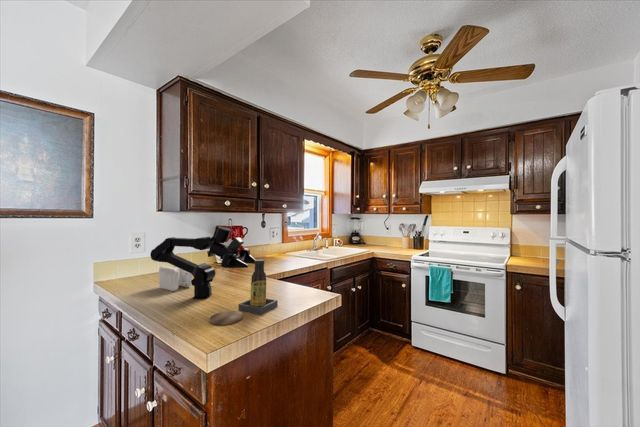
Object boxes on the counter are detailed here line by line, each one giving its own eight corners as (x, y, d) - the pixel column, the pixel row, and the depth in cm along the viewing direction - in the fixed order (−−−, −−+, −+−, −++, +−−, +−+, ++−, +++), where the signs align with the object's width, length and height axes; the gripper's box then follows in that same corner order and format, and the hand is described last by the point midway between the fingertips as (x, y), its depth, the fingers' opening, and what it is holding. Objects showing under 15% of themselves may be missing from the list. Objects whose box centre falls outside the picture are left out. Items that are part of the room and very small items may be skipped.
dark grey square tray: (238, 310, 111) (238, 304, 111) (256, 302, 120) (256, 296, 120) (260, 315, 106) (260, 308, 106) (277, 306, 115) (277, 300, 115)
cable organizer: (193, 287, 143) (193, 265, 143) (173, 293, 134) (173, 269, 134) (177, 283, 151) (177, 262, 151) (157, 288, 142) (157, 266, 142)
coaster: (204, 325, 96) (204, 323, 96) (216, 312, 108) (216, 310, 108) (238, 325, 96) (238, 323, 96) (247, 312, 108) (247, 310, 108)
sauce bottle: (252, 312, 109) (252, 261, 109) (248, 307, 114) (248, 259, 114) (268, 309, 112) (268, 260, 112) (264, 304, 117) (264, 258, 117)
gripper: (216, 236, 116) (248, 250, 113) (238, 233, 134) (267, 245, 131) (208, 261, 117) (239, 275, 114) (231, 254, 135) (259, 266, 132)
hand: (252, 264), depth 123 cm, fingers open, 9 cm apart
